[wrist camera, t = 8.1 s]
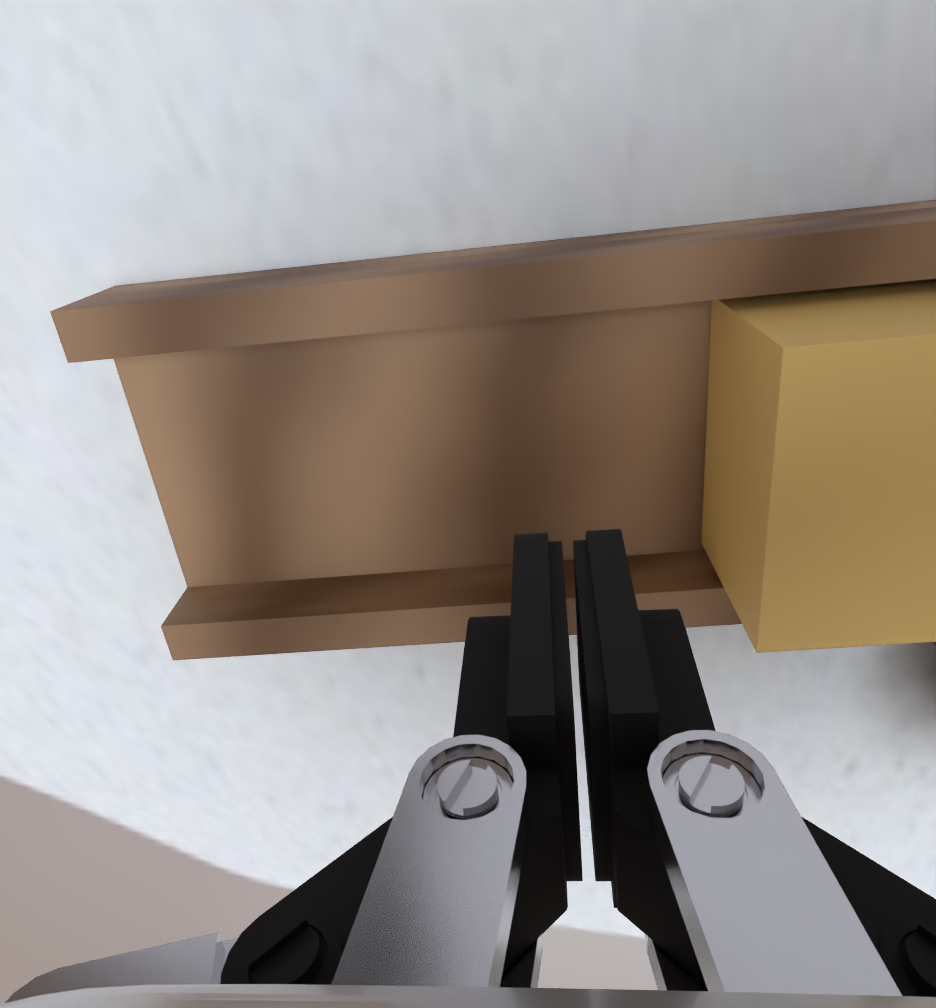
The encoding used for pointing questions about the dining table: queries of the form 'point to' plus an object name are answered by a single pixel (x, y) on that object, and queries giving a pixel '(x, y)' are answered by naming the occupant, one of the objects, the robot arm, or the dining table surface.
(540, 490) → the wooden tray
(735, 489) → the block
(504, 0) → the dining table surface
